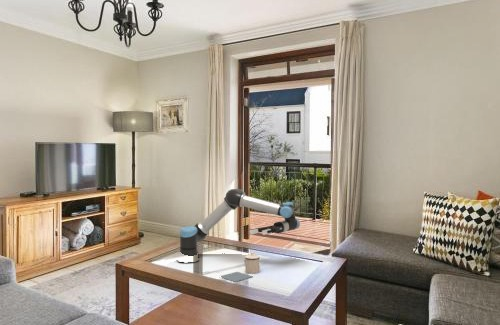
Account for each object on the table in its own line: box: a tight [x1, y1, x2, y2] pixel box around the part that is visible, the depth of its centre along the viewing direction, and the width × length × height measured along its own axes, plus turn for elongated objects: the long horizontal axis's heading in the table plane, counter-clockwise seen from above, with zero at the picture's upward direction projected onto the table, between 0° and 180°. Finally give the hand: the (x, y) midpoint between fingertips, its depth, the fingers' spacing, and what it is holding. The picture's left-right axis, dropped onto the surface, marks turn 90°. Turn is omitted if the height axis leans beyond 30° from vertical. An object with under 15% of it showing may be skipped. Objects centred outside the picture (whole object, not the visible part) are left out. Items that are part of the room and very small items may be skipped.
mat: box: [220, 271, 254, 283], centre depth 179 cm, size 14×14×1 cm
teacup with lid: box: [244, 251, 260, 274], centre depth 192 cm, size 12×9×12 cm
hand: (256, 232), depth 198 cm, fingers open, 13 cm apart
